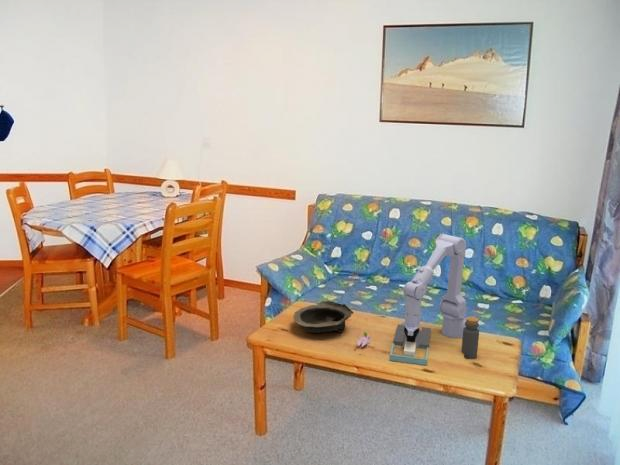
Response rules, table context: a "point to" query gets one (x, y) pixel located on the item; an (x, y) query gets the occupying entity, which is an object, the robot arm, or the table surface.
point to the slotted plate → (420, 340)
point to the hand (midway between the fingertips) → (410, 346)
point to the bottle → (470, 338)
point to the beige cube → (409, 351)
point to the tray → (408, 358)
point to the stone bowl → (323, 317)
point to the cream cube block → (410, 344)
